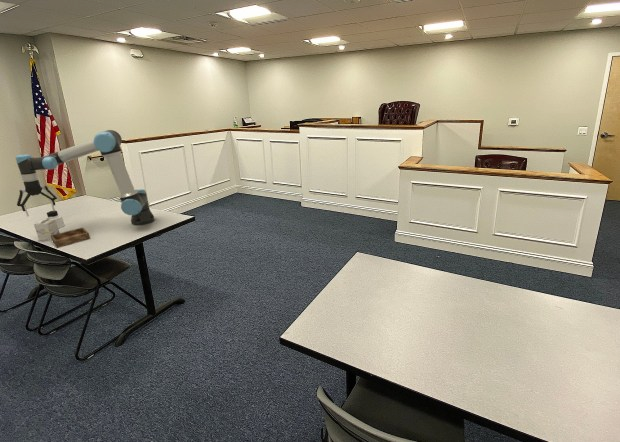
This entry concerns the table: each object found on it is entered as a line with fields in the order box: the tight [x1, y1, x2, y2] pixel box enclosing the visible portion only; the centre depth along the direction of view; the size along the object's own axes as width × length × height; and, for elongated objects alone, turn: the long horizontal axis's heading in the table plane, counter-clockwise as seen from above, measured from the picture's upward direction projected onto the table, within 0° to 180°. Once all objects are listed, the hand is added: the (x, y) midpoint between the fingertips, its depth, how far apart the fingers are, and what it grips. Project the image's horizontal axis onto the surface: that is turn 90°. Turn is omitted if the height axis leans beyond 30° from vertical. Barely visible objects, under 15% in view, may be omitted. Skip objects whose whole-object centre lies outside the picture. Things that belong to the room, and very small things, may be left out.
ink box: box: [33, 216, 60, 242], centre depth 223 cm, size 9×8×13 cm
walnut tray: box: [50, 227, 91, 249], centre depth 220 cm, size 18×15×4 cm
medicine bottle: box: [46, 210, 65, 229], centre depth 243 cm, size 7×7×12 cm
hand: (41, 213), depth 220 cm, fingers open, 13 cm apart
